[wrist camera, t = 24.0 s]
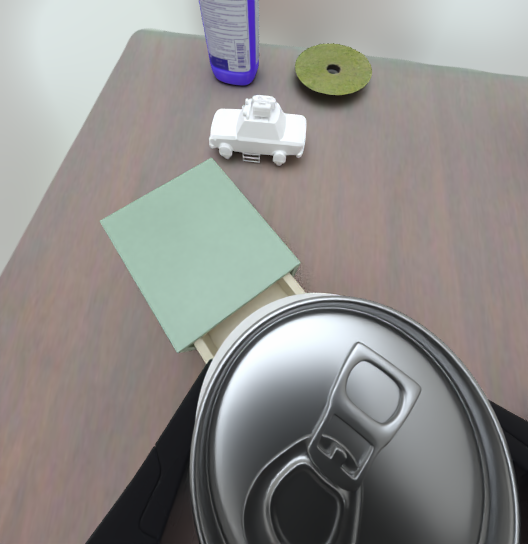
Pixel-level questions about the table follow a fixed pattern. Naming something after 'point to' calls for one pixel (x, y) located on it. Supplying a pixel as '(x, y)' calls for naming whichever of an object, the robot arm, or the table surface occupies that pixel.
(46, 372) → the table surface
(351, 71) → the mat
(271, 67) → the table surface
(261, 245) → the cabinet
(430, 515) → the can
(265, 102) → the toy car
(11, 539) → the table surface
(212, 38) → the bottle
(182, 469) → the robot arm
